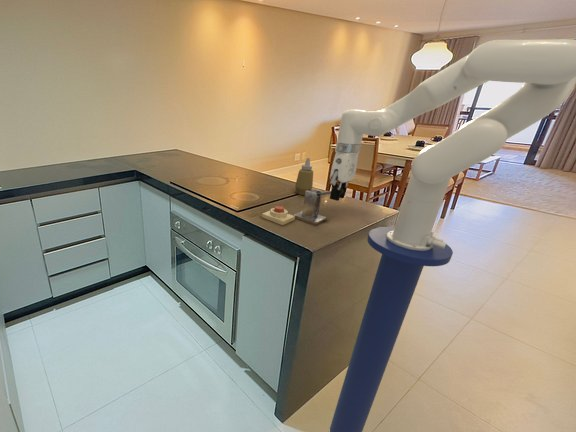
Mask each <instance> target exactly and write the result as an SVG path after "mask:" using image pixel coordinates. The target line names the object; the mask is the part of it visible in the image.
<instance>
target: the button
mask: <svg viewBox="0 0 576 432" xmlns="http://www.w3.org/2000/svg"><path fill="white" fill-rule="evenodd" d="M274 208H275V209H274V212H278V213H283V212H284V209H285V207H284V206H281V205H276V206H274Z"/></svg>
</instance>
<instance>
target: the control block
mask: <svg viewBox="0 0 576 432" xmlns="http://www.w3.org/2000/svg"><path fill="white" fill-rule="evenodd" d="M274 209H275V207H272V208H270V210H268V211H265V212H262V213H261V218H262V219H265V220H268V221H270V222H272V223H276V224H277V225H280V226H284V225H287V224H289V223H292V222H293V221H295V219H296V218H295V216H293V215H294V214H290V213H288V210H287V209H286V208H284V212H283V213H278V212H274Z"/></svg>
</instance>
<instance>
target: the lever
mask: <svg viewBox="0 0 576 432" xmlns="http://www.w3.org/2000/svg"><path fill="white" fill-rule="evenodd" d="M340 190H341V193H340V195H341V194H342V193H343V188H342V187H341V188H340ZM315 193H317V198H318V197H319V196H321V195H322V196H325V195H330V194H331V190H327V191H323V192H321V193H318V191H316V192H315Z"/></svg>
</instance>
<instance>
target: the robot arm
mask: <svg viewBox="0 0 576 432" xmlns="http://www.w3.org/2000/svg"><path fill="white" fill-rule="evenodd" d="M488 82H502V83H518V84H519V83H520V84H523V85H521V87H520V88H519V89H518V90H517V91H516V92H514V93H513V94H512V95H510V96H509V97H507V98H506V99H504V100H503V101H501V102H499V104H497V105H495V106H493V107H492V108H490V109H489V110H487V111H485V112H484V113H482V114H481V115H479V116H477V117H475V118H473V119H471V120H469V121H467V122H466V123H464V124H463V125H461V127H459V129H458V130H456V131H454V132H453V133H451V134H449V135H448V136H446V137H445V138H443V139H442V140H440V141H438V142H437V143H435V144H431V145H427V146H426V147H424V148H423V149H421V150H419V152H418V153H417V154H416V156H415V157H414V159H413V160H412V162H411V165H410V166H411V167H410V171H411V173H410V177H409V180H408V183H407V186H406V189H405V193H404V195H403V198H402V202H401V205H400V208H399V212H398V214H397V218H396V222H395V225H394V227H395V228H394V231H390V232H388V233H387V235H386V238H387V239H388V240H389V241H390V242H391V243H393V244H395V245H397V246H400V247H403V248H406V249H410V250H417V251H426V250H430V249H431V248H432V246H433V245H434V246H437V247H439V248H442V249H444V248H445V246H446V244H447V242H444V239H441V238H437V237H435V236H434V231H432V230H433V229H434V226H435V222H436V220H437V217H438V215H439V212H440V208H441V206H442V203H443V201H444V198H445V195H446V193H447V191H448V187H449V184H450V181H451V180H452V179H451V178H453V177H455V176H457V175H459V174H461V173H463V172H464V171H466V170H468V169H470V168H472V167H474V166H477V165H478V164H479V163H482V162H484V161H485V160H487V159H488V158H490V157H492V156H494V155H495V154H496V153H498V152H499V151H500V150H501V149H502V148H503V147H504V145H505V144H506V142H507V140H508V139H510V138H512V137H513V136H515V135H517V134H519V133H520V132H522V131H524V130H526V129H527V128H529V127H531V126H532V125H534V124H536V123H538V122H540V121H541V120H543V119H544V118H546V117H547V116H549V115H550V114H552V113H553V112H554V111H556V110H557V109H559V107H560V106H561V105H562V104H564V102H566V100H567V99H568V98H569V96H570V95H571V93H572V92H573V89H574V88H575V87H576V39H572V38H557V39H556V38H555V39H553V38H551V39H548V38H547V39H493V40H488V41H486V42H482V43H481V44H479V45H478V46H476V47H475V48H473V50H472V51H471V52H470V53H469V54H466V55H465V56H463V57H462V58H459V60H456V62H453V63H451V64H450V65H449V66H447V67H444V69H442V70H440V71H439V72H436V73H435V74H433V75H431V76H430V77H428V78H426V79H425V80H423V81H422V82H421V83H419V84H418V85H417V86H416V87H415V88H414V89H413V90H412V91H410V92H409V93H407V94H406V95H404V96H402V97H401V98H400V99H398V100H396V101H394V102H393V103H391V104H389V105H388V106H386V107H384V108H382V109H380V110H373V111H366V110H362V109H347V110H344V111H342V114H341V118H340V124H339V127H338V133H337V138H336V144H335V149H334V153H335V154H334V157H333V161H332V165H331V170H330V173H329V180H330V182H329V184H330V185H331V188H330V189H331V190H330V191H331V194H329V199H330V200H333V201H336V202H338V201H340V199H344V198H345V197H346V192H347V188H348V185H349V182H350V181H352V180H354V179H355V177H356V173H357V168H358V167H357V166H358V161H359V154H360V151H361V146H362V141H363V139H364V138H363V137H364V135H367V136H372V137H379V136H383V135H385V134H387V133H389V132H392V131H393V130H395V129H396V128H398V127H400V126H402V125H405V124H406V123H408V122H410V121H412V120H414V119H416V118H418V117H419V116H421V115H423V114H426V113H428V112H431V111H433V110H436V109H438V108H440V107H442V106H444V105H446V104H447V103H449V102H451V101H453V100H455V99H457V98H459V97H461V96H462V95H465V94H466V93H468V92H470V91H472V90H475V89H476V88H478V87H480V86H481V85H484V84H487V83H488ZM341 187H342V188H343V193H342V194H341V195H340V193H341V190H340V188H341ZM434 237H435V238H434Z"/></svg>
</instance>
